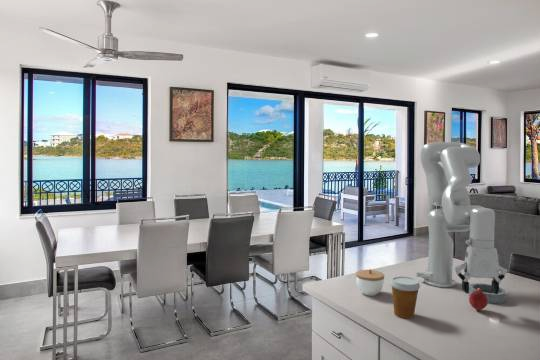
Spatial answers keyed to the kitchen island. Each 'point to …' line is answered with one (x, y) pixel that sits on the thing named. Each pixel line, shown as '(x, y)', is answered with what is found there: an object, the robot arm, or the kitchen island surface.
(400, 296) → the disposable coffee cup
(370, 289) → the lidded jar
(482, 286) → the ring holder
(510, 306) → the kitchen island surface
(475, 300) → the onion
